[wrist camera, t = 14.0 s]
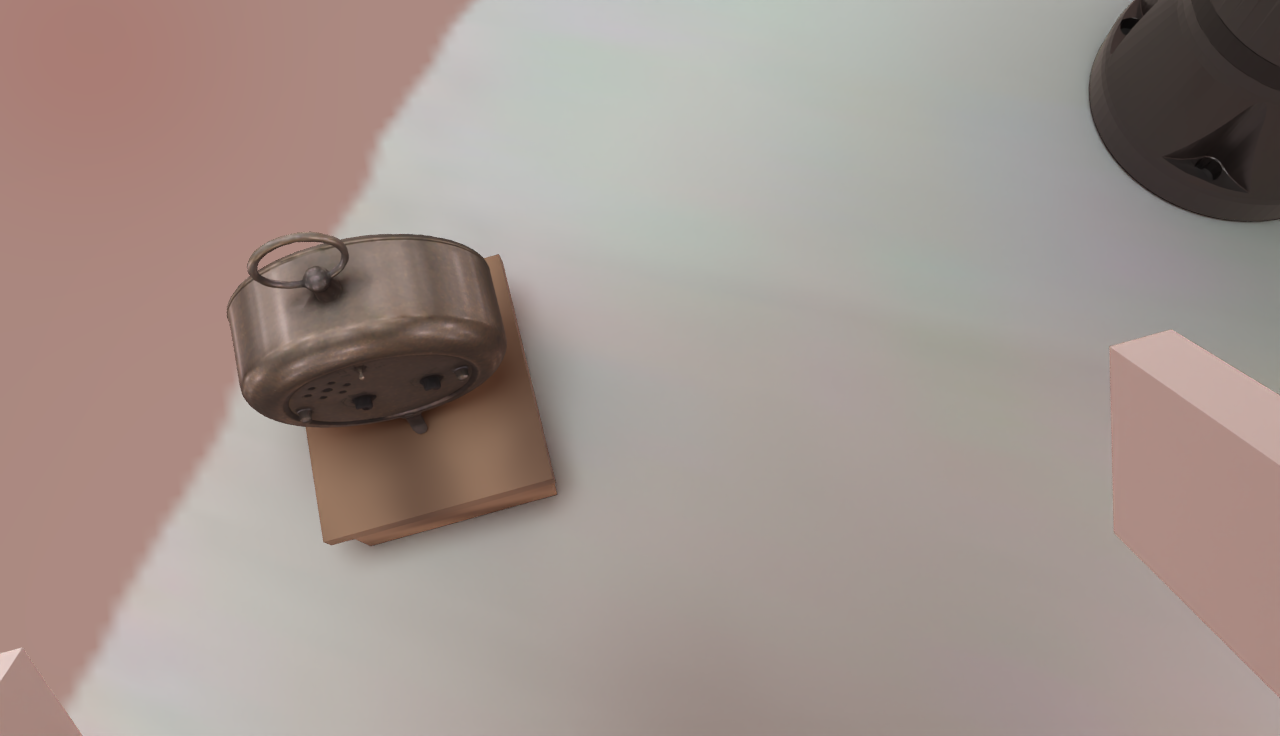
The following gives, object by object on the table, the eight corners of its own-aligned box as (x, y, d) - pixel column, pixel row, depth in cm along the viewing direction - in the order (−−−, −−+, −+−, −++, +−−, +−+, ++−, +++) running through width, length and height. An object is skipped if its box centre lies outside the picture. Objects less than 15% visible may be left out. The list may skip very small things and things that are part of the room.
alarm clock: (514, 311, 48) (422, 129, 33) (539, 411, 46) (453, 269, 31) (299, 370, 48) (106, 215, 33) (316, 473, 46) (120, 361, 31)
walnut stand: (518, 296, 54) (498, 254, 49) (568, 501, 50) (552, 478, 45) (327, 348, 54) (287, 311, 49) (362, 558, 50) (323, 541, 45)
